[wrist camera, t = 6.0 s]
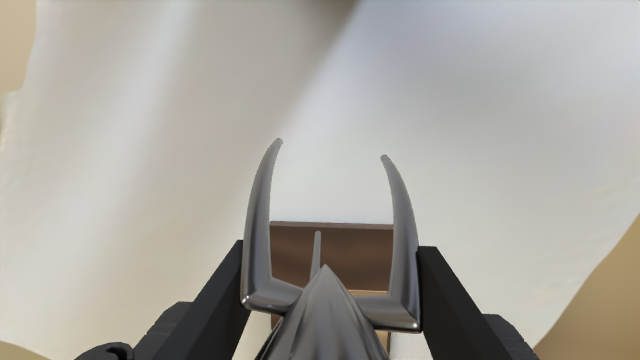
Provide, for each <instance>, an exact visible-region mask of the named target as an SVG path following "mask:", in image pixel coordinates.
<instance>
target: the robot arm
mask: <svg viewBox="0 0 640 360" xmlns="http://www.w3.org/2000/svg"><path fill="white" fill-rule="evenodd" d="M242 249H243V240H237V241H236V243H235V244H234V246H233V247H232V248H231V250H230V251H229V253H228V254H227V255H226V257H225V258H224V260H223V261H222V262H221V264H220V265H219V267H218V268H217V269H216V271H215V272H214V274H213V275H212V276H211V278H210V279H209V281H208V282H207V283H206V285H205V286H204V287H203V289H202V290H201V292H200V293H199V294H198V296H197V297H196V299H195V300H194V301H193V302H177V303H176V304H174V305H173V306H171V307H170V308H168V309H167V310H165V311H164V312H163V314H162V315H161V316H160V317H159V318H158V320H157V321H156V322H155V325H153V326H152V327H151V328H150V329H149V331H148V332H147V335H144V337H143V338H142V339H141V340H140V342H139V343H138V344H137V345H136V346H135V348H134V349H132V348H131V346H130V345H129V344H126V343H122V342H113V343H107V344H103V345H100V346H96V347H94V348H92V349H90V350H88V351H86V352H84V353H82V354H81V355H80V356H78V357H77V358H76V359H74V360H232V357H233V355H234V352H235V350H236V348H237V345H238V343H239V340H240V338H241V335H242V333H243V330H244V328H245V325H246V323H247V321H248V318H249V316H250V313H251V311H252V310H249V309H245V308H242V307H241V306H240V304H239V290H240V274H241V261H242ZM417 252H418V255H419V258H420V262H421V273H422V289H423V315H424V326H423V333H424V336H425V339H426V341H427V344H428V347H429V349H430V352H431V355H432V357H433V360H540V359H539V358H538V357H537V356H536V354H535V353H533V351H532V349H531V348H530V346H529V345H528V344H527V343H526V342H524V339H523V338H522V336H521V335H520V334H519V332H518V331H517V330H516V329H515V327H514V326H513V325H511V324H510V323H509V322H507V321H506V320H505V319H503V318H502V317H501V316H499V315H497V314H482V313H481V312H480V310H479V309H478V307H477V306H476V304H475V303H474V302H473V300H472V299H471V297H470V296H469V294H468V293H467V291H466V290H465V288H464V287H463V285H462V284H461V282H460V281H459V280H458V278H457V277H456V275H455V274H454V272H453V271H452V269H451V268H450V266H449V265H448V263H447V262H446V260H445V259H444V258H443V256H442V255H441V253H440V252H439V250H438V249H437V247H434V246H418V248H417Z"/></svg>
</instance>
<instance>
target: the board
mask: <svg viewBox="0 0 640 360" xmlns="http://www.w3.org/2000/svg"><path fill="white" fill-rule="evenodd" d="M269 228H270V250H271V262H272V272H273V277H274V278H276V279H279V280H281V281H284V282H287V283H290V284H293V285H296V286H298V287H301V288H304V287H305V286H306V284H307V283H308V282H309V279H310V268H311V259H312V250H313V243H314V235H315V232H316V231H320V232H321V268H322V267H323V266H324V265H325V264H326V265H327V266H328V267H329V268H330V269H331V270H332V271H333V272H334V273H335V275H336V276H337V277H338V278H339V279H340V281H341V282H342V283H343V284H344V286H345V287H346V288H347V290H348V291H349V292H350V294H351V295H352V296H354V295H386V294H387V292H388V286H389V279H390V271H391V262H392V252H393V232H394V225H383V224H350V223H317V222H284V221H271V222H270V224H269ZM280 319H281V316H277V315H272V314H271V330H273V329H274V327H275V326H276V324H277V323H278V321H279V320H280ZM375 332H376V334H377V335H378V337H379V339H380V340H381V342H382V344H383V346H384V347H385V349H386V351H387V353H388V355H389V353H390V340H391V332H388V331H377V330H375Z"/></svg>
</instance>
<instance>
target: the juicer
mask: <svg viewBox="0 0 640 360" xmlns="http://www.w3.org/2000/svg"><path fill="white" fill-rule="evenodd" d="M282 143H283V141H282V139H281V138H277V139H276V140H275V141H274V142H273V143H272V144H271V145H270V147H269V148H268V149H267V151H266V153H265V154H264V156H263V158H262V160H261V162H260V165H259V167H258V170H257V173H256V176H255V179H254V182H253V186H252V190H251V194H250V199H249V204H248V210H247V216H246V223H245V230H244V239H243V249H242V261H241V274H240V290H239V304H240V306H241V307H242V308H245V309H249V310H254V311H258V312H263V313H268V314H272V315H277V316H281V319H280V320H279V321H278V323H277V324H276V326H275V327H274V329H273V330H272V332H271V333H270V335H269V337H268V338H267V340H266V341H265V343H264V344H263V346H262V348H261V349H260V351H259V353H258V354H257V356H256V357H255V359H254V360H391V359H390V357H389V355H388V353H387V351H386V349H385V347H384V346H383V344H382V342H381V340H380V339H379V337H378V335H377V334H376V332H375V330H377V331H388V332H400V333H412V334H420V333H421V332H422V331H423V326H424V315H423V289H422V273H421V262H420V258H419V255H418V252H417V248H418V246H419V242H418V235H417V229H416V223H415V218H414V213H413V209H412V205H411V201H410V198H409V195H408V192H407V189H406V186H405V184H404V182H403V179H402V177H401V175H400V173H399V171H398V170H397V168H396V166H395V165H394V163H393V162H392V161H391V159H390V158H389V157H388V156H387V155H382V156H381V158H380V159H381V161H382V163H383V165H384V168H385V170H386V173H387V176H388V180H389V184H390V188H391V194H392V202H393V218H394V232H393V252H392V262H391V271H390V279H389V286H388V292H387V294H386V295H354V296H352V295H351V294H350V292H349V291H348V290H347V288H346V287H345V286H344V284H343V283H342V282H341V281H340V279H339V278H338V277H337V276H336V275H335V273H334V272H333V271H332V270H331V269H330V268H329V267H328V266H327V265H326V264H325V265H324V266H323V267H322V268H321V232H320V231H316V232H315V235H314V243H313V250H312V259H311V268H310V279H309V282H308V283H307V284H306V286H305V287H304V288H301V287H298V286H296V285H293V284H290V283H287V282H284V281H281V280H279V279H276V278H274V277H273V272H272V262H271V250H270V228H269V207H270V190H271V181H272V174H273V169H274V164H275V161H276V157H277V154H278V152H279V149H280V147H281V145H282Z"/></svg>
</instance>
